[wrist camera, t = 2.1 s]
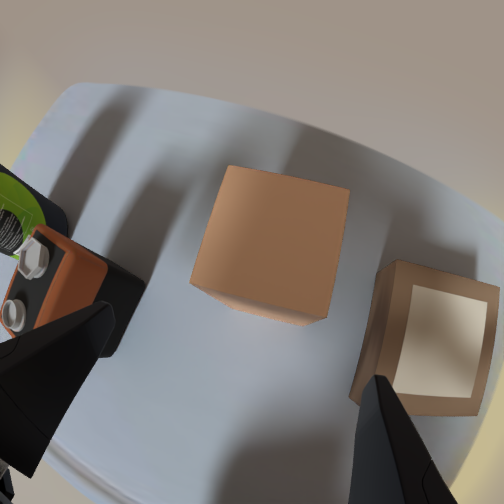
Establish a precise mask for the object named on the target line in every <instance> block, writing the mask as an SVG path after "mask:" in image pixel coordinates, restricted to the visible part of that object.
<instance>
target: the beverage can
mask: <svg viewBox="0 0 504 504" xmlns="http://www.w3.org/2000/svg"><path fill="white" fill-rule="evenodd" d="M38 224H44V225H46V226H48V227H49V228H51V229H53V230H55V231H56V232H58V233H60V234H62V235H64V236H65V237H67V220H66V216H65V213H64V211H63V210H62V209H61V208H60V207H59V206H57V205H56V204H54V203H53V202H51V201H50V200H49V199H47V198H46V197H44V196H43V195H42V194H40V193H39V192H37V191H36V190H35V189H33V188H32V187H30V186H29V185H28V184H26V183H25V182H24V181H22V180H21V179H20V178H18V177H17V176H16V175H14V174H13V173H12V172H10V171H9V170H8V169H6V168H5V167H4V166H3V165H1V164H0V252H1V253H3V254H5V255H8V256H10V257H13V258H15V259H17V260H19V254H20V249H21V248H22V247H23V246H24V245H25V244H26V243H27V242H28V240H29V238H30V236H31V234H32V232H33V230H34V228H35V226H36V225H38Z"/></svg>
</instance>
